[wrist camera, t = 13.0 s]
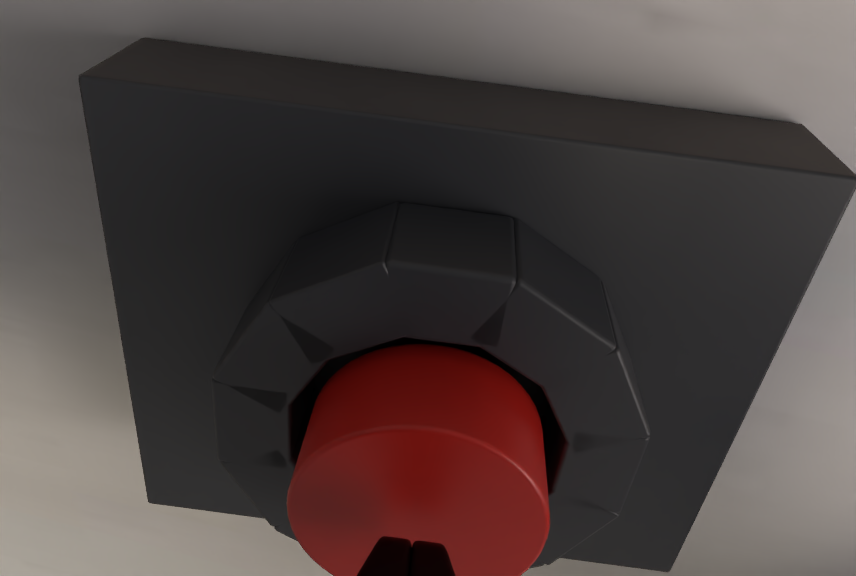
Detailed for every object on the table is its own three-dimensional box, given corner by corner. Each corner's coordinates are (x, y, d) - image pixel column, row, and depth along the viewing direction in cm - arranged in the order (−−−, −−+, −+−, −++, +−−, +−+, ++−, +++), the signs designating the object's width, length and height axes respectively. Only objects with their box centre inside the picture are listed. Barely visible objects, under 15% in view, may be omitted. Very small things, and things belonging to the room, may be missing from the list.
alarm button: (310, 494, 12) (285, 586, 11) (315, 325, 10) (284, 410, 9) (519, 522, 12) (523, 618, 11) (564, 359, 10) (577, 448, 9)
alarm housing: (185, 429, 17) (108, 580, 13) (141, 36, 12) (-1, 119, 8) (650, 491, 17) (690, 658, 13) (803, 123, 12) (930, 241, 8)
